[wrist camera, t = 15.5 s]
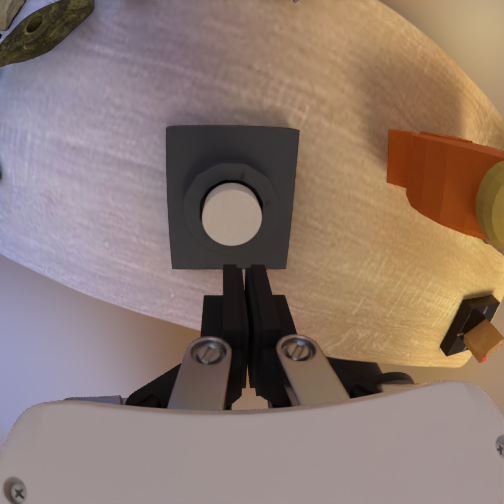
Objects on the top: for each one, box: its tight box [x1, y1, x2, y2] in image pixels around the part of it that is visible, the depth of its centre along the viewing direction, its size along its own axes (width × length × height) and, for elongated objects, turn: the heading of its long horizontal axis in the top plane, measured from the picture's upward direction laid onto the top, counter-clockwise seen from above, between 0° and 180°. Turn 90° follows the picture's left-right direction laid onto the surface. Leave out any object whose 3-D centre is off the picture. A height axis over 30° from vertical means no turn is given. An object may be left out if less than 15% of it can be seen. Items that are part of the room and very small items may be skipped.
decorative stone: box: [0, 0, 94, 67], centre depth 14 cm, size 12×5×4 cm, turn 118°
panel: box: [440, 295, 500, 356], centre depth 37 cm, size 10×10×3 cm
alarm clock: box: [387, 129, 504, 250], centre depth 16 cm, size 13×6×20 cm, turn 94°
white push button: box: [202, 183, 262, 246], centre depth 20 cm, size 4×4×2 cm
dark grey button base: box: [166, 125, 299, 269], centre depth 23 cm, size 12×10×5 cm
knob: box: [463, 318, 504, 363], centre depth 33 cm, size 6×2×6 cm, turn 116°
